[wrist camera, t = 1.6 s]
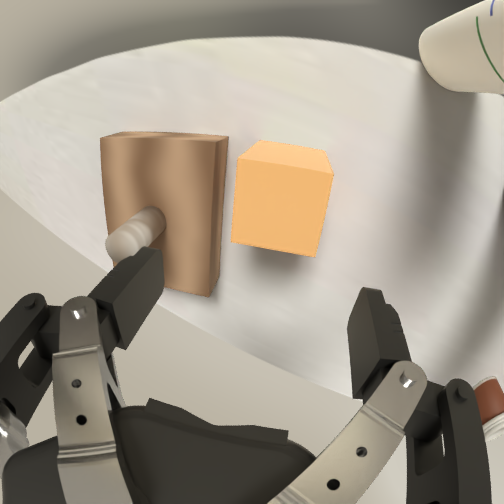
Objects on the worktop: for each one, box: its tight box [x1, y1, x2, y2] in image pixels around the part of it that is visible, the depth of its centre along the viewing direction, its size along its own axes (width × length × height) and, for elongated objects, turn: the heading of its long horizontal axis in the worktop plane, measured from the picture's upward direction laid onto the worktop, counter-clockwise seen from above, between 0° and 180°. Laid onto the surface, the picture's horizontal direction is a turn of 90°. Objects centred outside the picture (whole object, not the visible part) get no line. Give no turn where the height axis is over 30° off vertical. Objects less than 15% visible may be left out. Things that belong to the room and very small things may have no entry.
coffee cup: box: [473, 376, 504, 442], centre depth 31 cm, size 9×9×12 cm
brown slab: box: [100, 132, 228, 297], centre depth 26 cm, size 12×16×10 cm
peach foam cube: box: [231, 140, 334, 257], centre depth 23 cm, size 9×6×9 cm, turn 174°
